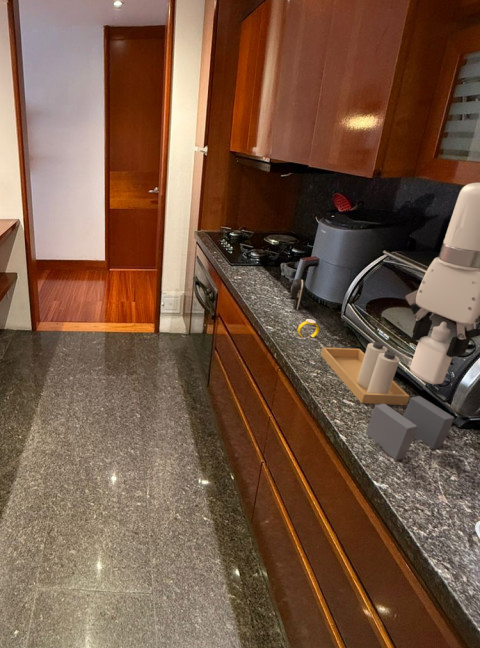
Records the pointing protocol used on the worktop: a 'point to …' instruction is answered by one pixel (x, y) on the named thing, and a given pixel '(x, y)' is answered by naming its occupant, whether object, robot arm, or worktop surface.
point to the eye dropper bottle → (432, 356)
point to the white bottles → (377, 369)
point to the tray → (348, 370)
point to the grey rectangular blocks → (408, 426)
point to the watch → (311, 322)
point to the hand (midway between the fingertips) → (436, 346)
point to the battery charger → (297, 292)
